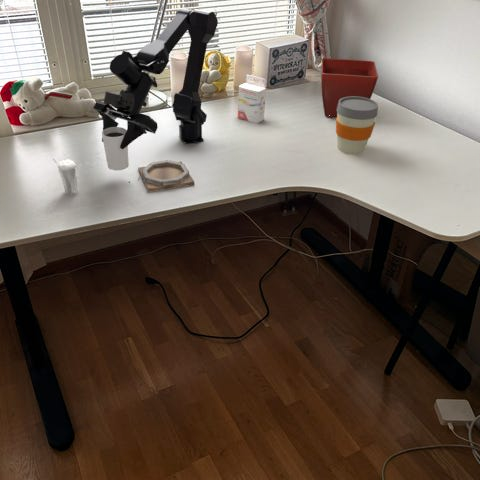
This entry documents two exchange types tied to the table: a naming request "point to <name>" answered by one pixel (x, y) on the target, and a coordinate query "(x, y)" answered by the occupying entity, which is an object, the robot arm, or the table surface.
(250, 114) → the ink cartridge box
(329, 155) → the table surface
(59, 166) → the milkshake
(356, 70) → the plant pot
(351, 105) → the reusable coffee cup
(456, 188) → the table surface
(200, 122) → the robot arm
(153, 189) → the ring board
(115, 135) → the white cup
